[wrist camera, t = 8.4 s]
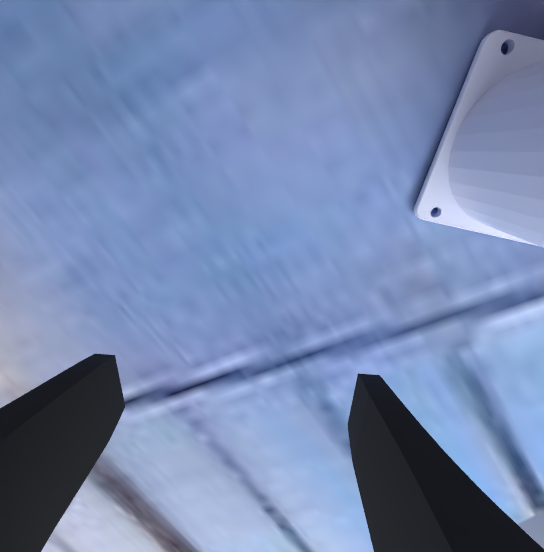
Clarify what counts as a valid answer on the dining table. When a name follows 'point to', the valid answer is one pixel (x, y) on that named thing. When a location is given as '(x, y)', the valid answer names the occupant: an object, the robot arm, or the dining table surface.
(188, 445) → the dining table surface
